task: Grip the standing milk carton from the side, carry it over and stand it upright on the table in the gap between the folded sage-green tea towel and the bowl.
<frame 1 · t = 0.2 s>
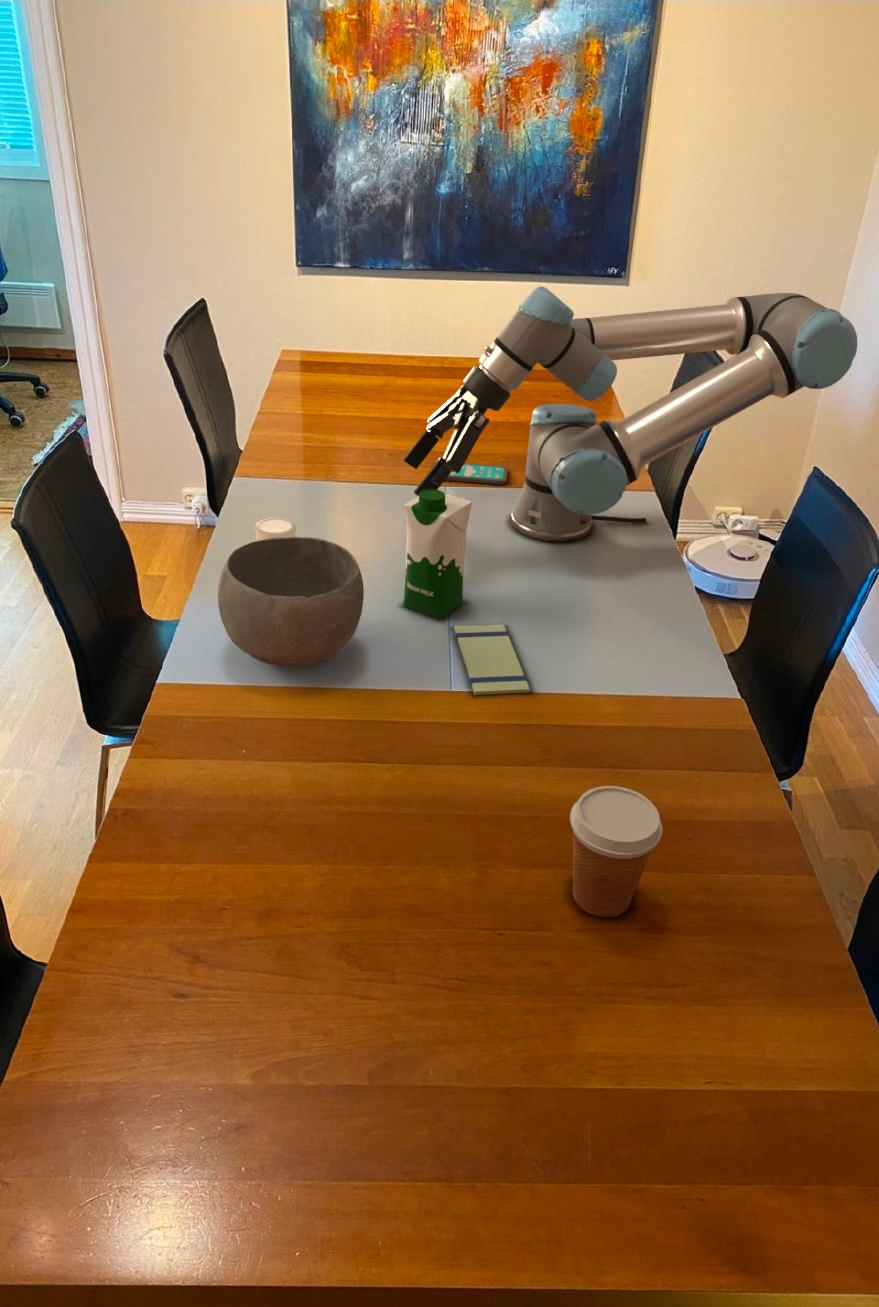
hand: (414, 480, 165), 15 cm above the table, tool tilted 35°, fingers open, 13 cm apart
tea towel: (489, 659, 147), on the table
beige tapered cylinder: (276, 563, 170), on the table
bowl: (293, 653, 146), on the table
smartphone: (471, 475, 208), on the table
disposable coffee cup: (601, 896, 108), on the table
milk carton: (433, 605, 160), on the table
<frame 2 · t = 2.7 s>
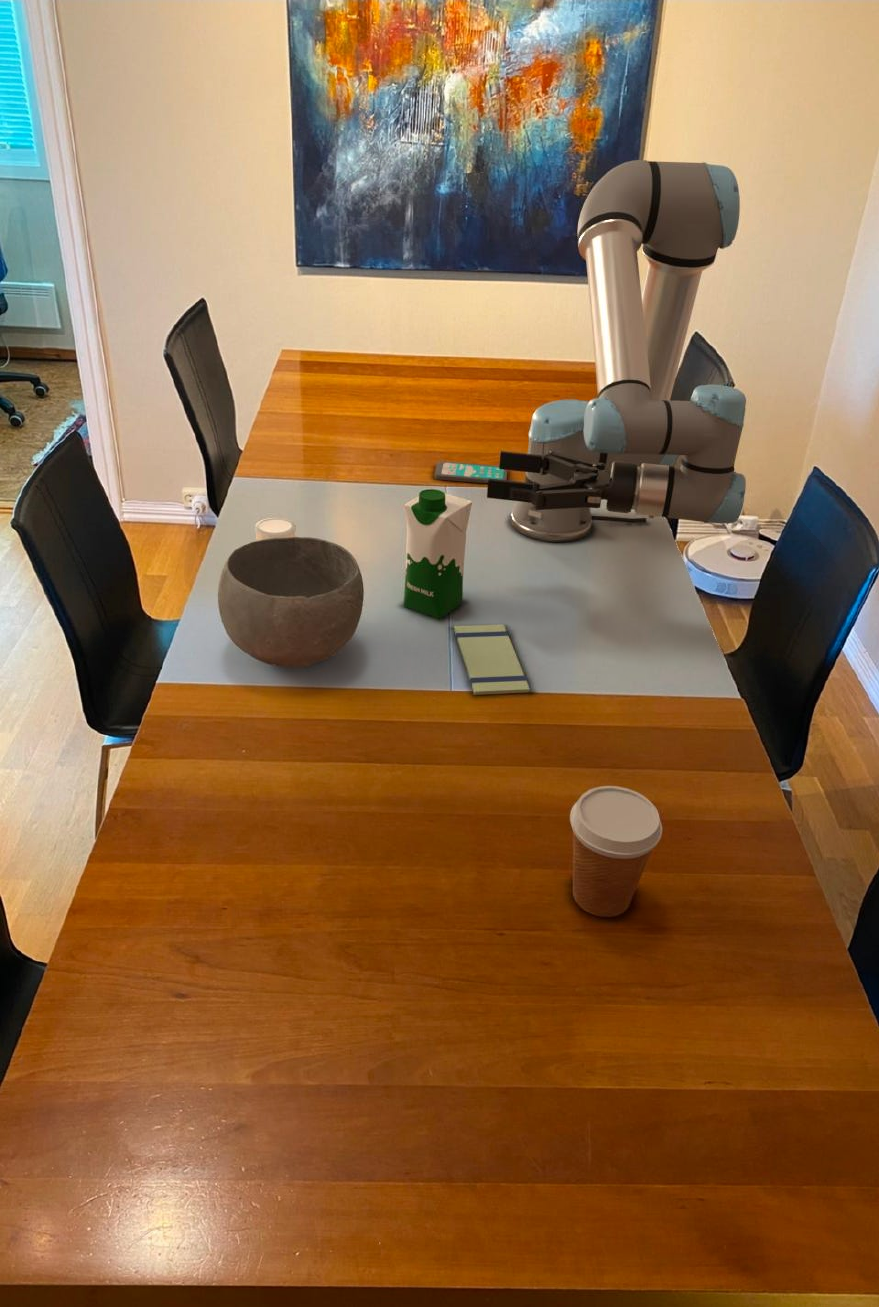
hand: (493, 473, 149), 23 cm above the table, tool horizontal, fingers open, 13 cm apart
nothing on the table moved.
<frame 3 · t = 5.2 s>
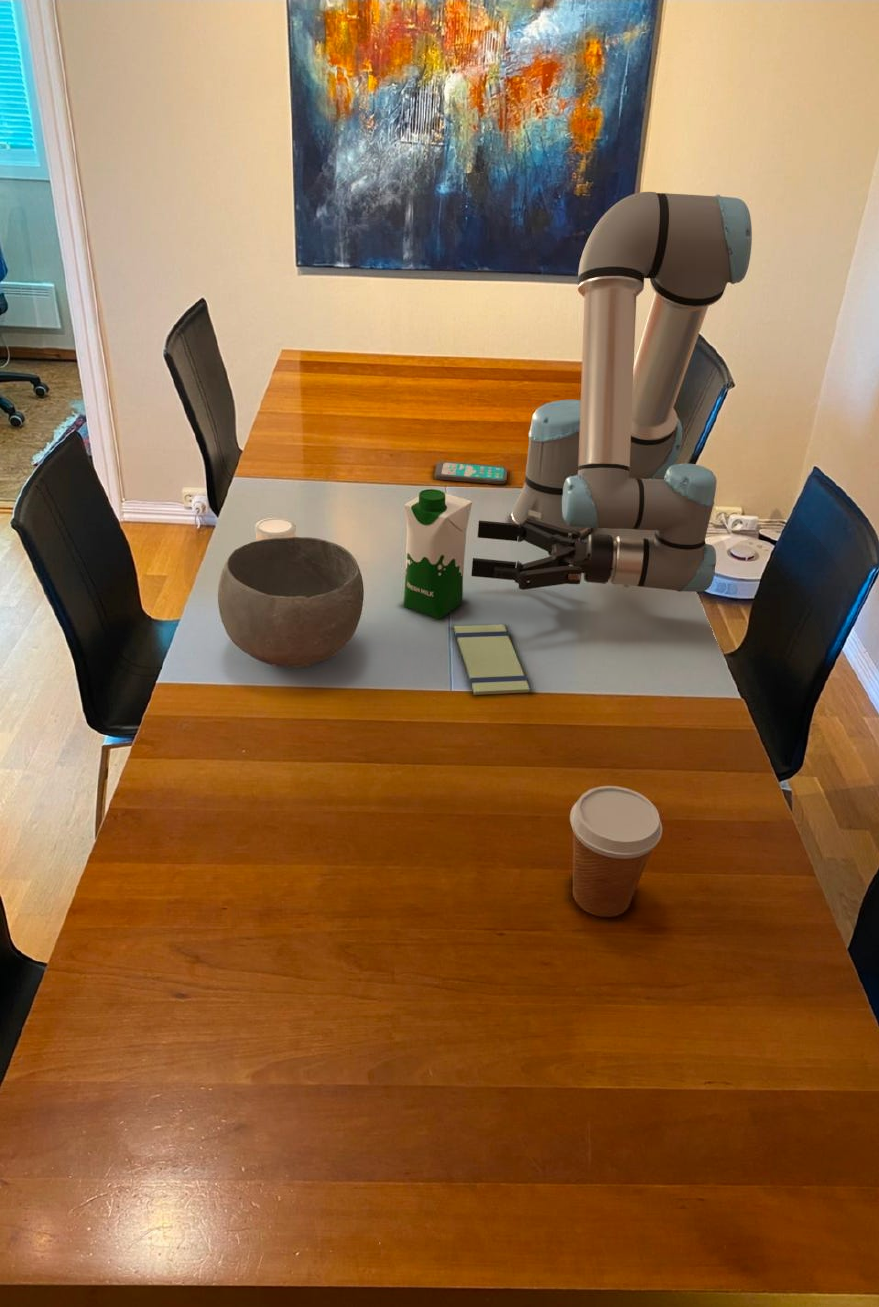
hand: (474, 547, 154), 11 cm above the table, tool horizontal, fingers open, 13 cm apart
nothing on the table moved.
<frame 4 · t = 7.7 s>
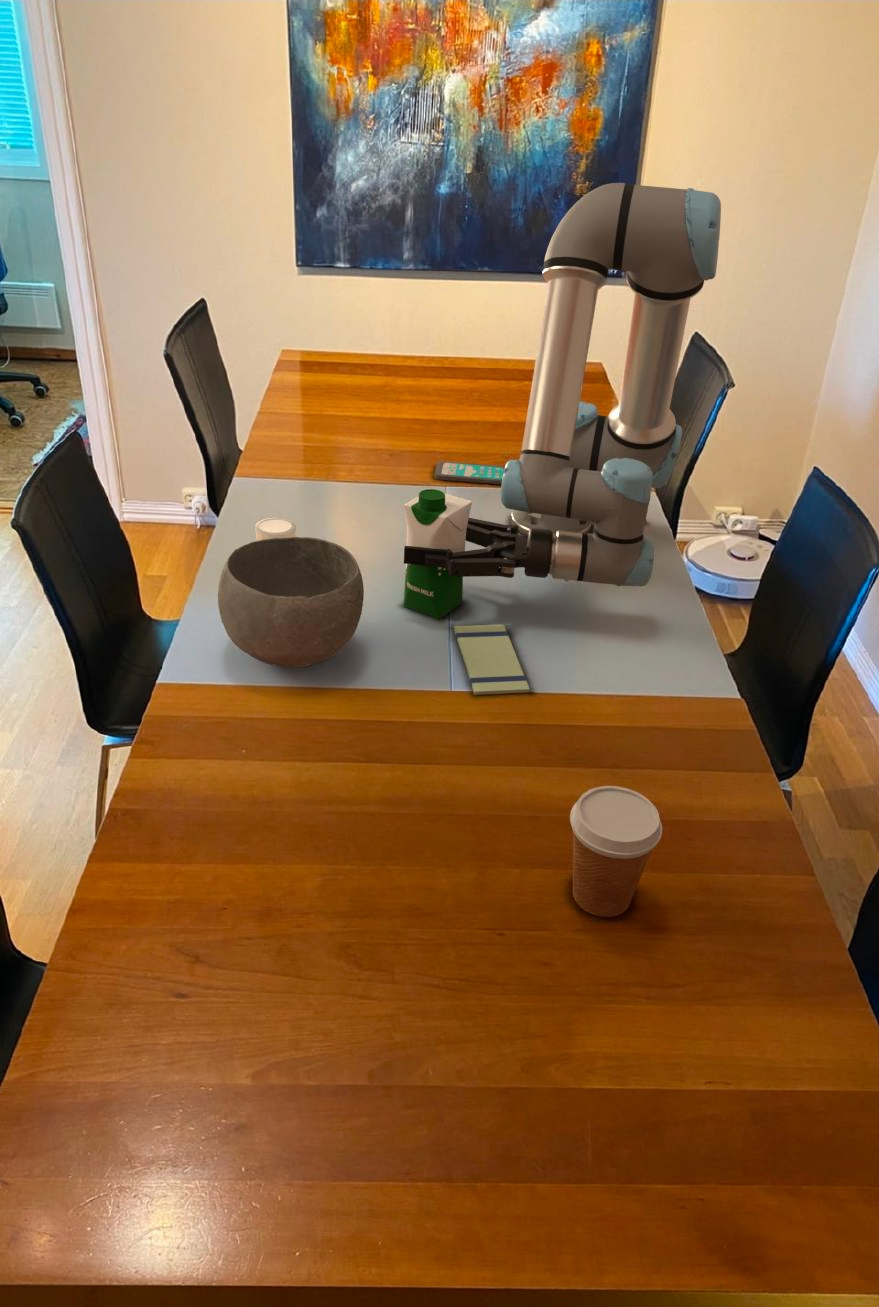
hand: (408, 540, 155), 11 cm above the table, tool horizontal, fingers closed on milk carton, 9 cm apart
milk carton: (433, 605, 160), on the table, touching gripper
everything else where it was.
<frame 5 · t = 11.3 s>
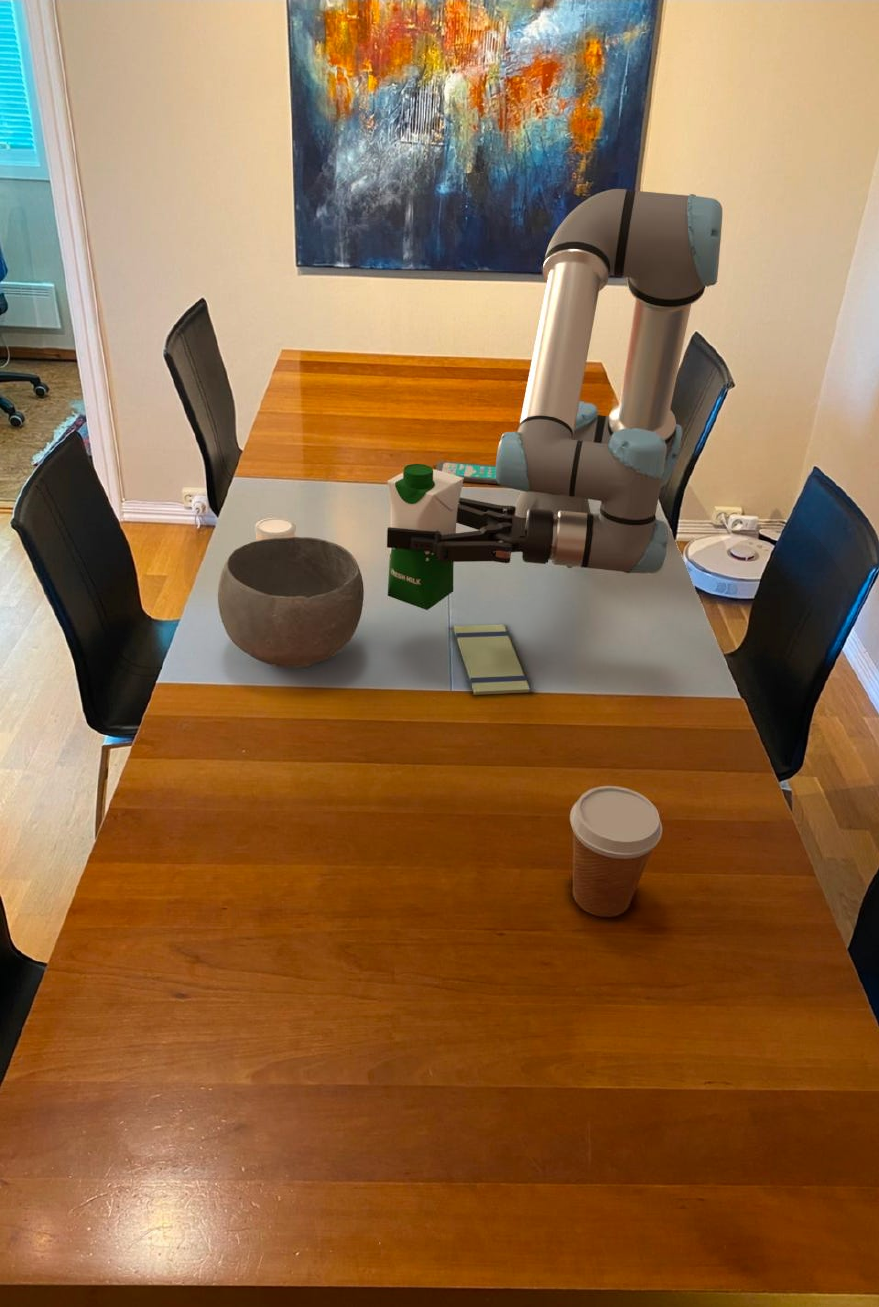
hand: (393, 522, 138), 20 cm above the table, tool horizontal, fingers closed on milk carton, 9 cm apart
milk carton: (421, 595, 144), point 9 cm above the table, touching gripper
everything else where it was.
when the fingers open (11 cm above the table, at t = 14.9 s): milk carton stays where it is, on the table.
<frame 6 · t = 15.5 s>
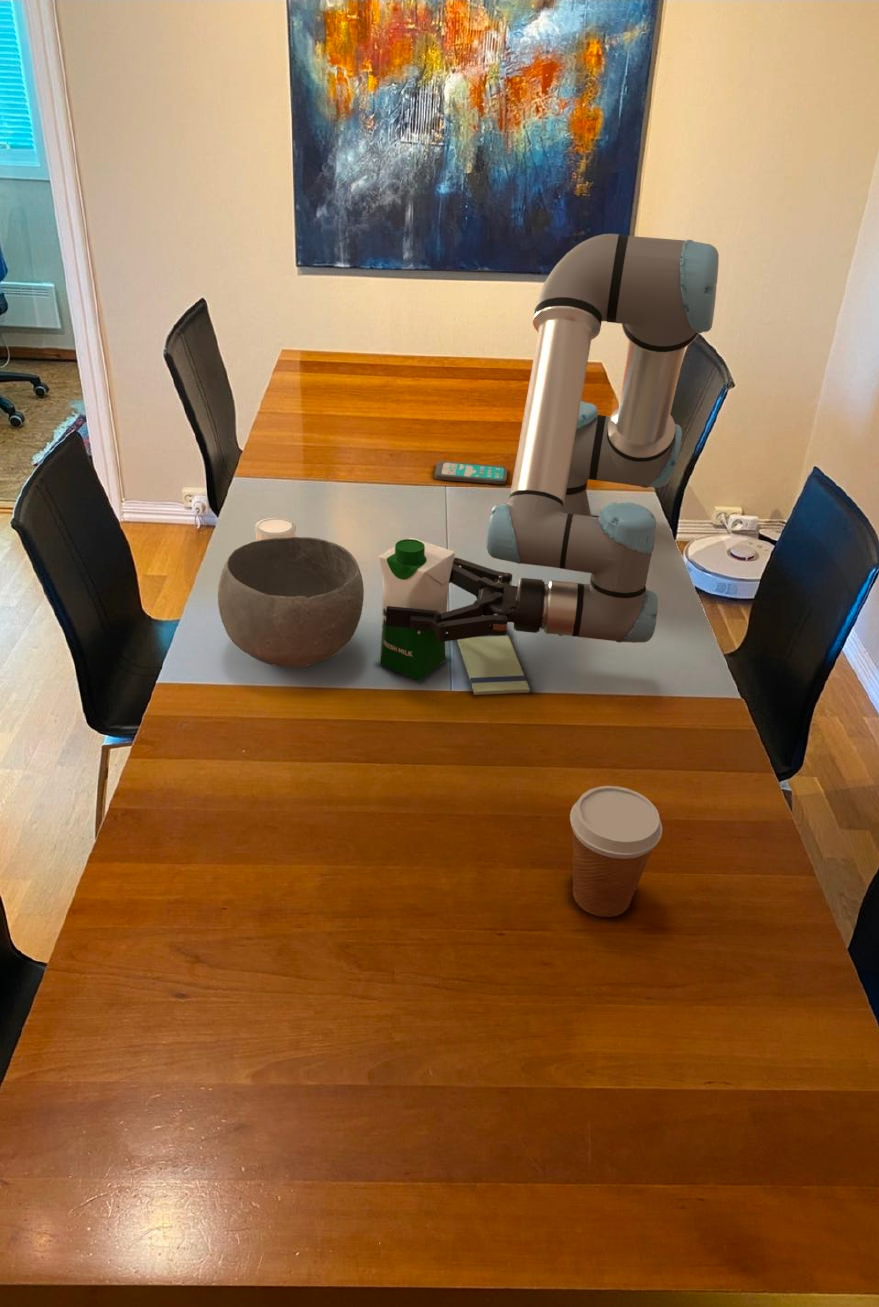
hand: (393, 591, 139), 12 cm above the table, tool horizontal, fingers open, 13 cm apart
milk carton: (413, 663, 145), on the table
everything else where it was.
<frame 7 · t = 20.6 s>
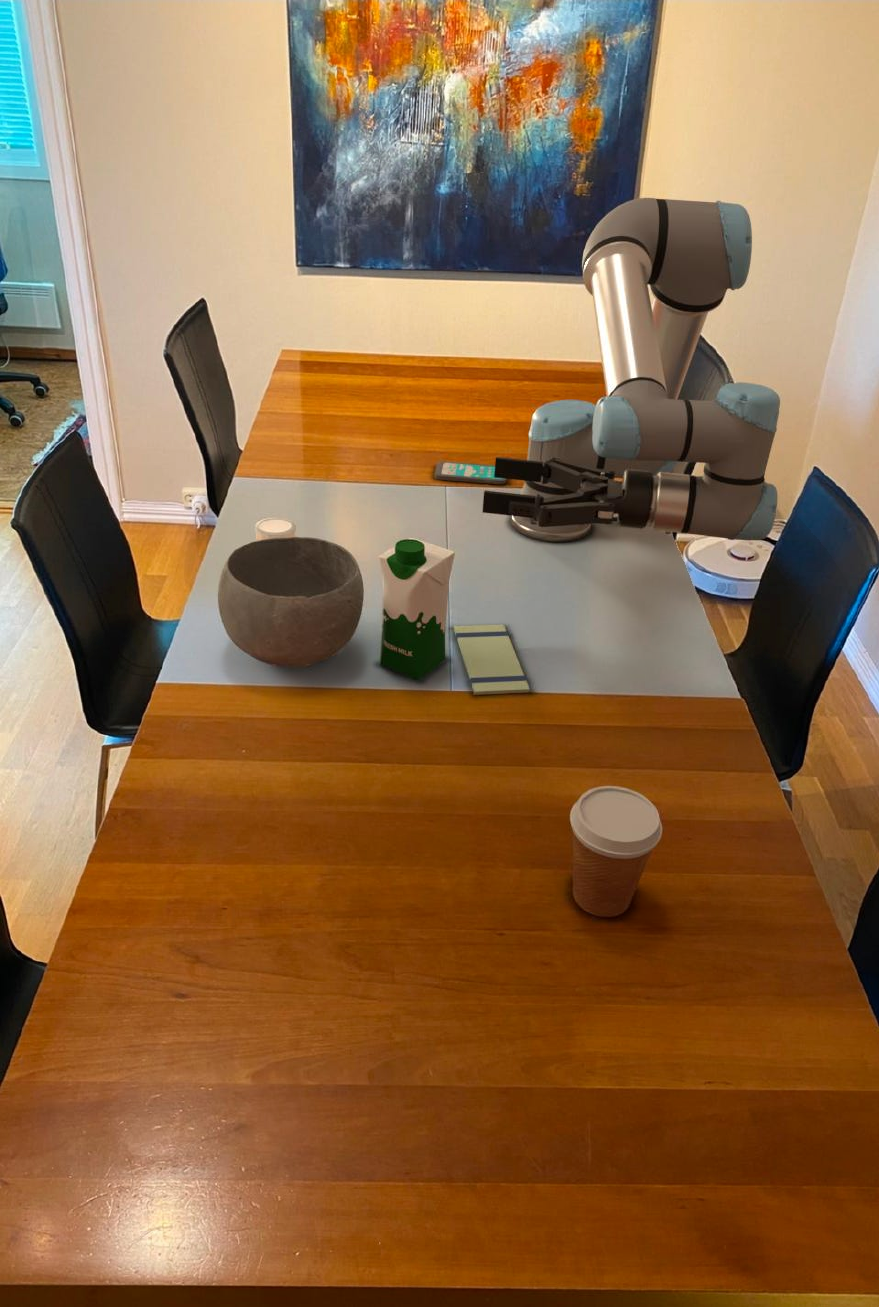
hand: (489, 483, 131), 29 cm above the table, tool horizontal, fingers open, 13 cm apart
nothing on the table moved.
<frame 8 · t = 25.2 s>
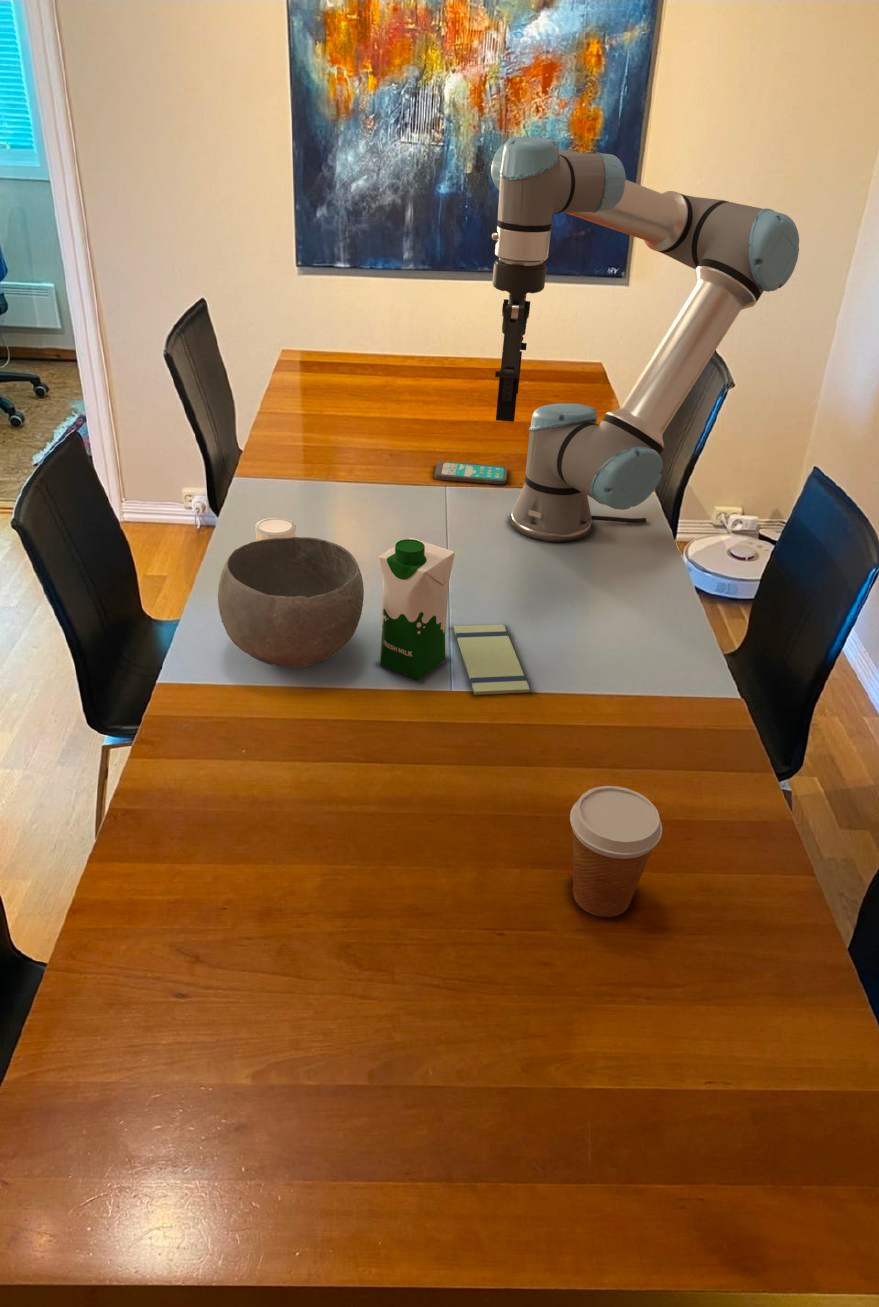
hand: (507, 406, 151), 31 cm above the table, tool pointing down, fingers open, 13 cm apart
nothing on the table moved.
at the end: milk carton inside the target area (0.9 cm from its centre), on the table; milk carton tilted 0°; milk carton touching table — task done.
